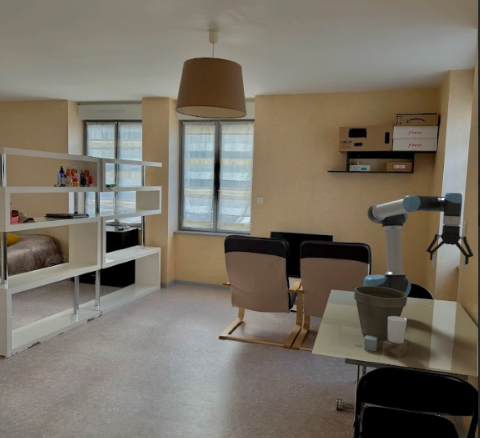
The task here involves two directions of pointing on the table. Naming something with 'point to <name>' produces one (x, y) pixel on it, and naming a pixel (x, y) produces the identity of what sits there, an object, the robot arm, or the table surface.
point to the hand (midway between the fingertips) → (448, 269)
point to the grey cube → (370, 343)
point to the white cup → (396, 329)
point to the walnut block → (395, 348)
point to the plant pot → (378, 308)
